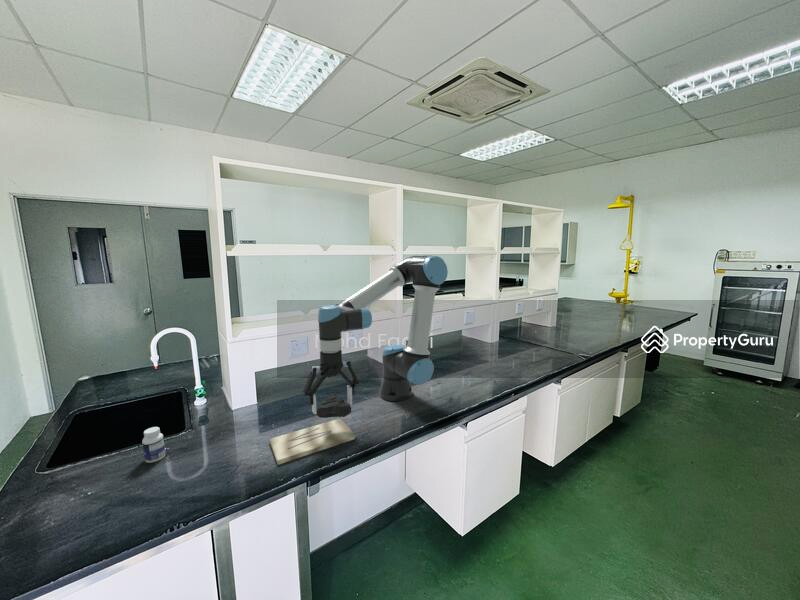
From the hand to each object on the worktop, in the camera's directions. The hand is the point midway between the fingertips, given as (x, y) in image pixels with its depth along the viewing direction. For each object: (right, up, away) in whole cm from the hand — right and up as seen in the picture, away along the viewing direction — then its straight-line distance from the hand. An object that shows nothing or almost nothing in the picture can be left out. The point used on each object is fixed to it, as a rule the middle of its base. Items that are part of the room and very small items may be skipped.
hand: (332, 407), depth 114 cm
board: (-6, -11, -3) cm, 13 cm away
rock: (0, -3, 0) cm, 3 cm away
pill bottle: (-55, -13, -11) cm, 58 cm away
